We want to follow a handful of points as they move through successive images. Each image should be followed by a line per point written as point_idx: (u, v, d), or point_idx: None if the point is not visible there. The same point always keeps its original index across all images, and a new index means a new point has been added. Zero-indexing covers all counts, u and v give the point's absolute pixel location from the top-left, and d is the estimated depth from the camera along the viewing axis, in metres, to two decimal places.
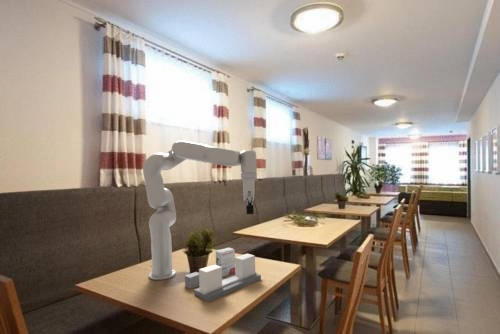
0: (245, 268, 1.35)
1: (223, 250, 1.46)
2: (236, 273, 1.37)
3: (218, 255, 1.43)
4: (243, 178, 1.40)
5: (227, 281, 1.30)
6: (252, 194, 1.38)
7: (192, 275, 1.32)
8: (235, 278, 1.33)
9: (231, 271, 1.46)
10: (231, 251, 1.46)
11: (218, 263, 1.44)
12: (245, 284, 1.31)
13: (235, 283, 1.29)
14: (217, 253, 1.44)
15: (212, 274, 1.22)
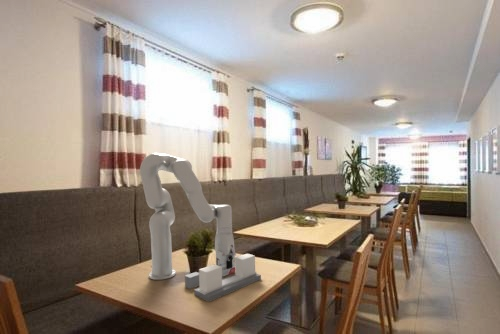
0: (245, 268, 1.35)
1: None
2: (236, 273, 1.37)
3: (219, 255, 1.43)
4: (223, 233, 1.43)
5: (227, 281, 1.30)
6: (233, 250, 1.44)
7: (192, 275, 1.32)
8: (235, 278, 1.33)
9: (231, 271, 1.46)
10: None
11: (218, 263, 1.44)
12: (245, 284, 1.31)
13: (235, 283, 1.29)
14: (217, 253, 1.44)
15: (212, 274, 1.22)
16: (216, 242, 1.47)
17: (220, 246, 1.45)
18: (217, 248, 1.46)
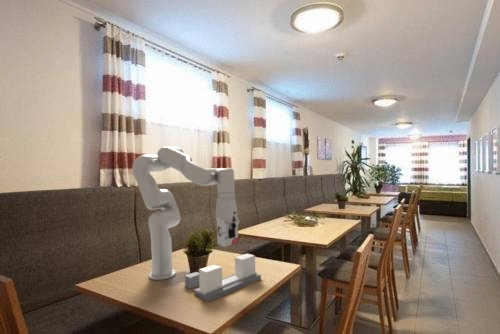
0: (245, 268, 1.35)
1: None
2: (236, 273, 1.37)
3: (220, 223, 1.30)
4: (226, 198, 1.29)
5: (227, 281, 1.30)
6: (236, 217, 1.31)
7: (192, 275, 1.32)
8: (235, 278, 1.33)
9: (234, 241, 1.33)
10: None
11: (219, 231, 1.30)
12: (245, 284, 1.31)
13: (235, 283, 1.29)
14: (219, 221, 1.31)
15: (212, 274, 1.22)
16: (217, 209, 1.33)
17: (222, 213, 1.31)
18: (218, 216, 1.33)
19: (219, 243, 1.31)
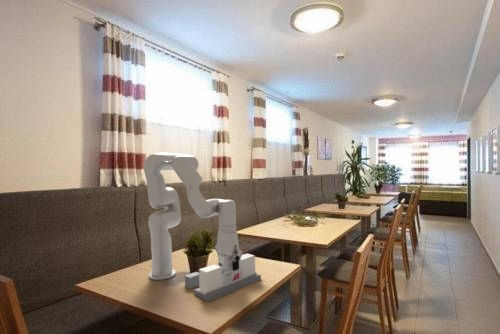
0: (245, 268, 1.35)
1: None
2: None
3: (222, 260, 1.27)
4: (227, 231, 1.27)
5: None
6: None
7: (192, 275, 1.32)
8: None
9: (235, 277, 1.31)
10: None
11: None
12: (245, 284, 1.31)
13: (235, 283, 1.29)
14: (220, 257, 1.28)
15: (212, 274, 1.22)
16: (218, 242, 1.31)
17: (223, 246, 1.29)
18: (219, 248, 1.31)
19: None
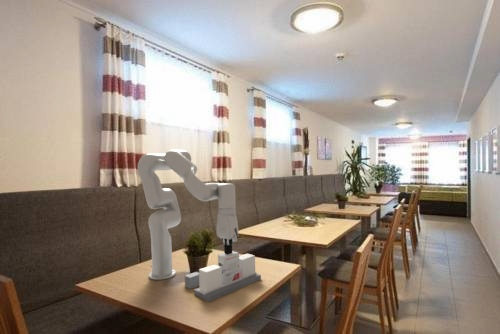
0: (245, 268, 1.35)
1: (226, 254, 1.30)
2: None
3: (222, 260, 1.27)
4: (226, 214, 1.27)
5: None
6: (236, 236, 1.29)
7: (192, 275, 1.32)
8: None
9: (235, 277, 1.31)
10: (235, 255, 1.31)
11: None
12: (245, 284, 1.31)
13: (235, 283, 1.29)
14: (220, 257, 1.28)
15: (212, 274, 1.22)
16: (218, 225, 1.31)
17: (222, 229, 1.29)
18: (219, 232, 1.31)
19: None
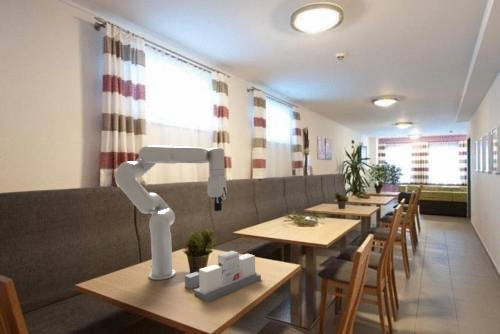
0: (245, 268, 1.35)
1: (226, 254, 1.30)
2: None
3: (222, 260, 1.27)
4: (216, 175, 1.42)
5: None
6: (225, 194, 1.44)
7: (192, 275, 1.32)
8: None
9: (235, 277, 1.31)
10: (235, 255, 1.31)
11: None
12: (245, 284, 1.31)
13: (235, 283, 1.29)
14: (220, 257, 1.28)
15: (212, 274, 1.22)
16: (209, 185, 1.47)
17: (212, 189, 1.44)
18: (210, 191, 1.46)
19: None
